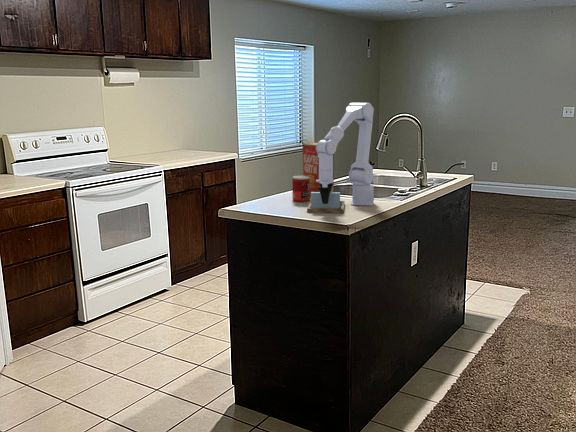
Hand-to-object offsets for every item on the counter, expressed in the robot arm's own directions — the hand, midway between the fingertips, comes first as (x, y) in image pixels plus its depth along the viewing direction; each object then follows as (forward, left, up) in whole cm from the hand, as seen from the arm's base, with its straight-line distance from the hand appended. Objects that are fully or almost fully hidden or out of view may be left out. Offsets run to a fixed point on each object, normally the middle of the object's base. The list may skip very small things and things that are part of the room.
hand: (325, 201), depth 238 cm
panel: (0, 0, -4) cm, 4 cm away
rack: (0, -6, -4) cm, 7 cm away
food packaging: (+6, -35, -4) cm, 35 cm away
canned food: (+13, -23, -4) cm, 26 cm away
